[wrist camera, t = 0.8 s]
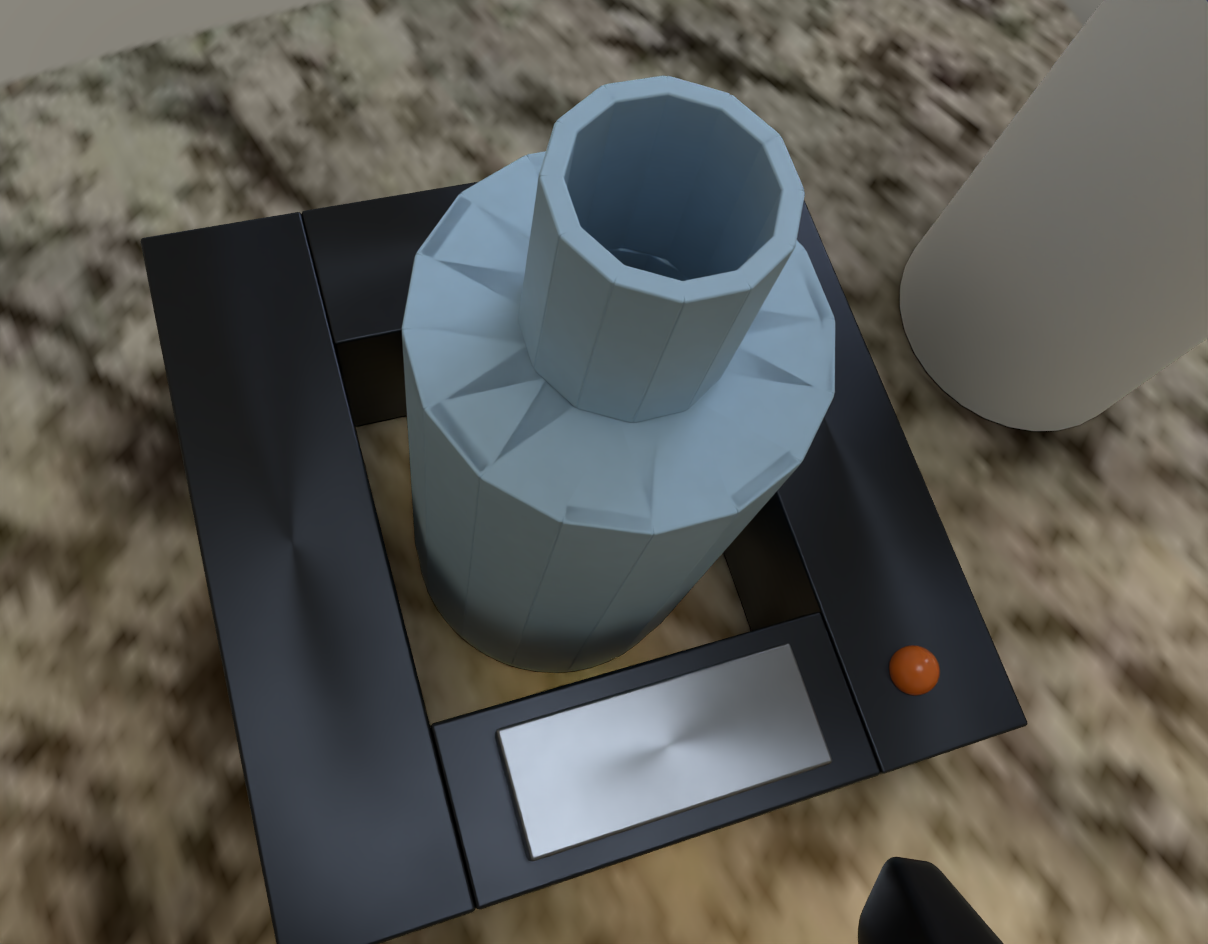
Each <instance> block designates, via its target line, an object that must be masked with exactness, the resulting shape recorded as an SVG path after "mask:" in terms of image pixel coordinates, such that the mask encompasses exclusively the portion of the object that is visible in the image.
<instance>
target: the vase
mask: <svg viewBox="0 0 1208 944" xmlns="http://www.w3.org/2000/svg"><path fill="white" fill-rule="evenodd" d="M804 196H805V193H804V188H803V186H802V183H801V181H800V179H799V176H798V174H797V172H796V169H795V167H794V165H793V162H792V160H791V158H790V155H789V153H788V151H787V148H786V146H785V144H784V141H783V139H782V137H780V135H779V133H777V132H776V131H775V130H774V129H773V128H771V127H770V126H769V125H768V124H767V123H765V122H764V121H763V120H762V119H761V118H759V117H758V116H757V115H756V114H755V113H753V112H752V111H751V110H750V109H749V108H747V107H746V106H745V105H744V104H743V103H741V102H740V101H739V100H738V99H736V98H735V97H734V96H733V95H730V94H729V93H727V92H723V91H720V90H716V89H713V88H709V87H706V86H702V85H699V84H695V83H692V82H688V81H685V80H681V79H678V78H674V77H671V76H667V77H666V76H658V77H651V78H644V79H637V80H631V81H624V82H617V83H611V84H605V85H604V86H600V87H599V88H598V89H597V90H595V91H594V92H593V93H591V94H590V95H589V96H588V97H586V98H585V99H584V100H582V101H581V102H580V103H578V104H577V105H576V106H575V107H573V108H572V109H571V110H569V111H568V112H567V113H566V114H564V115H563V116H562V117H560V118H559V119H558V120H557V122H556V123H555V124H554V127H553V130H552V134H551V137H550V140H549V143H548V147H547V150H546V151H545V152H539V153H533V154H528V155H526V156H523V157H521V158H519V159H518V160H516V161H514V162H513V163H511V164H509V165H507V166H506V167H504V168H502V169H501V170H499V171H497V172H495V173H494V174H492V175H490V176H488V177H487V178H485V179H483V180H482V181H480V182H478V183H476V184H475V185H473V186H471V187H470V188H468V189H466V190H464V191H463V192H461V194H459V195H458V196H457V198H456V199H455V200H454V202H453V203H452V205H451V206H450V207H449V209H448V210H447V211H446V213H445V214H444V216H443V217H442V218H441V220H440V221H439V222H438V224H437V225H436V227H435V228H434V229H433V231H432V232H431V233H430V235H429V236H428V238H427V239H426V240H425V242H424V243H423V244H422V246H421V247H420V248H419V250H418V251H417V253H416V255H415V258H414V263H413V269H412V274H411V280H410V285H409V291H408V296H407V302H406V307H405V313H404V318H403V324H402V342H403V358H404V375H405V391H406V407H407V423H408V439H409V455H410V471H411V487H412V503H413V519H414V536H415V545H416V549H417V553H418V556H419V562H420V567H421V572H422V575H423V578H424V581H425V584H426V587H427V591H428V593H429V595H430V596H431V598H432V600H433V602H434V604H435V606H436V607H437V609H438V610H439V612H440V613H441V615H442V616H443V618H444V619H445V620H446V621H447V623H448V624H449V625H450V626H451V627H452V628H453V629H454V630H455V631H456V633H457V634H459V635H460V636H461V637H462V638H463V639H464V640H466V641H467V642H468V643H469V644H470V645H472V646H473V647H475V648H476V649H478V650H479V651H481V652H482V653H484V654H486V655H487V656H490V657H492V658H494V659H496V660H498V661H500V662H502V663H505V664H508V665H511V666H514V667H517V668H521V669H526V670H532V671H537V672H554V673H558V672H570V671H577V670H582V669H586V668H591V667H594V666H597V665H600V664H602V663H605V662H608V661H610V660H612V659H614V658H616V657H619V656H621V655H623V654H624V653H625V652H626V651H628V650H629V649H631V648H632V647H633V646H635V645H636V644H638V643H639V642H640V641H641V640H642V639H643V638H644V637H645V636H646V635H647V634H648V633H650V632H651V631H652V630H653V629H655V628H656V627H657V626H658V625H659V624H661V623H662V622H663V620H664V619H665V618H666V617H667V616H668V615H669V614H670V612H671V611H672V610H673V609H674V608H675V607H676V606H677V604H678V603H679V602H680V601H681V600H682V599H683V598H684V596H685V595H686V594H687V593H688V592H689V591H690V590H691V588H692V587H693V586H694V585H695V584H696V583H697V582H698V580H699V579H700V578H701V577H702V576H703V575H704V574H705V573H706V571H707V570H708V569H709V568H710V567H711V566H712V565H713V563H714V562H715V561H716V560H717V559H718V558H719V557H720V555H721V554H722V553H723V552H724V551H725V550H726V549H727V547H728V546H729V545H730V544H731V543H732V542H733V541H734V539H735V538H736V537H737V536H738V535H739V534H740V533H741V531H742V530H743V529H744V528H745V527H746V526H747V525H748V523H749V522H750V521H751V520H752V519H753V518H754V517H755V515H756V514H757V513H758V512H759V511H760V510H761V509H762V507H763V506H764V505H765V504H766V503H767V502H768V501H769V499H770V498H771V497H772V496H773V495H774V494H775V493H776V491H777V490H778V489H779V488H780V487H781V486H782V485H783V484H784V482H785V481H786V480H787V479H788V478H789V477H790V476H791V474H792V473H793V472H794V471H795V470H796V469H797V468H798V466H799V465H800V464H801V463H802V462H803V460H804V457H805V455H806V453H807V451H808V449H809V447H810V445H811V443H812V441H813V439H814V437H815V435H816V433H817V431H818V429H819V426H820V424H821V422H822V420H823V418H824V416H825V414H826V412H827V410H828V408H829V406H830V404H831V402H832V400H833V397H834V393H835V320H834V315H833V313H832V311H831V308H830V306H829V303H828V301H827V299H826V296H825V294H824V292H823V289H822V287H821V284H820V282H819V280H818V277H817V275H816V273H815V270H814V268H813V265H812V263H811V261H810V258H809V256H808V254H807V251H806V250H805V248H804V247H803V246H802V245H801V244H800V243H799V242H798V241H797V235H798V230H799V224H800V218H801V213H802V207H803V202H804Z"/></svg>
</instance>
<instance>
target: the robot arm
mask: <svg viewBox="0 0 1208 944" xmlns="http://www.w3.org/2000/svg"><path fill="white" fill-rule="evenodd" d="M858 944H1003V943H1002V941H1001V940H1000V939H999V938H998V937H997V936H996V934H995V933H994V932H993V931H992V930H991V929H990V927H989V926H988V925H987V924H986V923H985V922H984V921H983V919H982V918H981V917H980V916H979V915H978V914H977V912H976V911H975V910H974V909H973V908H972V907H971V905H970V904H969V903H968V902H967V901H966V900H965V898H964V897H963V896H962V895H961V894H960V893H959V891H958V890H957V889H956V888H955V887H954V886H953V885H952V883H951V882H950V881H949V880H948V879H947V878H946V876H945V875H944V874H943V873H942V872H941V871H940V870H939V869H938V868H937V867H936V866H935V865H933V864H932V863H930V862H927V861H921V860H914V859H908V858H901V857H892V858H890V859H889V860H887V861H886V862H885V864H884V866H883V867H882V869H881V871H880V873H879V876H878V878H877V880H876V882H875V884H874V886H873V888H872V891H871V893H870V895H869V897H868V899H867V901H866V904H865V906H864V908H863V910H862V913H861V915H860V919H859V925H858Z"/></svg>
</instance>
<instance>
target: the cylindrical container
mask: <svg viewBox="0 0 1208 944" xmlns="http://www.w3.org/2000/svg"><path fill="white" fill-rule="evenodd" d="M900 311H901V316H902V321H903V325H904V330H905V333H906V335H907V337H908V340H909V342H910V344H911V347H912V349H913V351H914V353H915V355H916V356H917V358H918V359H919V361H920V362H921V364H922V365H923V367H924V368H925V370H926V371H927V373H928V374H929V375H930V376H931V377H932V378H933V380H934V381H935V382H936V383H937V384H938V385H939V386H940V387H941V388H942V389H943V390H944V391H945V392H946V393H947V394H949V395H950V396H951V397H952V398H954V399H955V400H956V401H957V402H959V403H960V404H961V405H962V406H964V407H966V408H968V409H969V410H971V411H973V412H975V413H976V414H978V415H980V416H982V417H983V418H986V419H988V420H991V421H994V422H996V423H999V424H1002V425H1005V426H1007V427H1012V428H1018V429H1023V430H1029V431H1058V430H1062V429H1066V428H1070V427H1074V426H1078V425H1080V424H1082V423H1084V422H1086V421H1088V420H1090V419H1092V418H1094V417H1096V416H1098V415H1099V414H1101V413H1102V412H1103V411H1105V410H1106V409H1108V408H1109V407H1111V406H1112V405H1113V404H1115V403H1116V402H1118V401H1119V400H1121V399H1122V398H1123V397H1125V396H1126V395H1128V394H1129V393H1131V392H1132V391H1133V390H1135V389H1136V388H1138V387H1139V386H1141V385H1142V384H1143V383H1145V382H1146V381H1148V380H1149V379H1150V378H1152V377H1153V376H1155V375H1156V374H1158V373H1159V372H1160V371H1162V370H1163V369H1165V368H1166V367H1168V366H1169V365H1170V364H1172V363H1173V362H1175V361H1176V360H1178V359H1179V358H1180V357H1182V356H1183V355H1185V354H1186V353H1188V352H1189V351H1190V350H1192V349H1193V348H1195V347H1196V346H1197V345H1199V344H1200V343H1202V342H1203V341H1205V340H1206V339H1207V338H1208V0H1103V1H1102V2H1101V3H1100V5H1099V6H1098V7H1097V9H1096V10H1095V11H1094V13H1093V14H1092V15H1091V17H1090V18H1089V19H1088V21H1087V22H1086V23H1085V25H1084V26H1083V27H1082V29H1081V30H1080V31H1079V32H1078V34H1077V35H1076V36H1075V38H1074V39H1073V40H1072V42H1071V43H1070V44H1069V46H1068V47H1067V48H1066V50H1065V51H1064V52H1063V54H1062V55H1061V56H1060V58H1059V59H1058V60H1057V61H1056V63H1055V64H1054V65H1053V67H1052V68H1051V69H1050V71H1049V72H1048V73H1047V75H1046V76H1045V77H1044V79H1043V80H1042V81H1041V83H1040V84H1039V85H1038V87H1037V88H1036V89H1035V90H1034V92H1033V93H1032V94H1031V96H1030V97H1029V98H1028V100H1027V101H1026V102H1025V104H1024V105H1023V106H1022V108H1021V109H1020V110H1019V112H1018V113H1017V114H1016V116H1015V117H1014V118H1013V120H1012V121H1011V122H1010V123H1009V125H1008V126H1007V127H1006V129H1005V130H1004V131H1003V133H1002V134H1001V135H1000V137H999V138H998V139H997V141H996V142H995V143H994V145H993V146H992V147H991V149H990V150H989V151H988V153H987V154H986V155H985V156H984V158H983V159H982V160H981V162H980V163H979V164H978V166H977V167H976V168H975V170H974V171H973V172H972V174H971V175H970V176H969V178H968V179H967V180H966V182H965V183H964V184H963V186H962V187H961V188H960V189H959V191H958V192H957V193H956V195H955V196H954V197H953V199H952V200H951V201H950V203H949V204H948V205H947V207H946V208H945V209H944V211H943V212H942V213H941V215H940V216H939V217H938V219H937V220H936V221H935V222H934V224H933V225H932V226H931V228H930V229H929V230H928V232H927V233H926V234H925V236H924V237H923V238H922V240H921V241H920V242H919V244H918V245H917V246H916V248H915V249H914V250H913V252H912V254H911V256H910V258H909V260H908V262H907V264H906V265H905V268H904V272H903V276H902V280H901V284H900Z"/></svg>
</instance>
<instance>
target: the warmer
mask: <svg viewBox="0 0 1208 944" xmlns="http://www.w3.org/2000/svg"><path fill="white" fill-rule="evenodd" d="M476 183H478V182H474V183H468V184H462V185H456V186H450V187H444V188H438V189H432V190H426V191H420V192H415V193H409V194H403V195H397V196H391V197H385V198H379V199H373V200H367V201H361V202H355V203H349V204H343V205H337V206H331V207H325V208H319V209H313V210H307V211H303V212H302V214H301V213H300V212H296V213H290V214H284V215H278V216H272V217H266V218H260V219H254V220H248V221H242V222H236V223H230V224H224V225H218V226H212V227H206V228H200V229H194V230H188V231H182V232H176V233H170V234H164V235H158V236H152V237H146V238H142V239H141V246H142V251H143V256H144V261H145V267H146V272H147V277H148V282H149V287H150V292H151V298H152V303H153V308H154V313H155V318H156V323H157V329H158V334H159V339H160V344H161V349H162V354H163V360H164V365H165V370H166V375H167V380H168V385H169V391H170V396H171V401H172V406H173V411H174V417H175V422H176V427H177V432H178V437H179V442H180V448H181V453H182V458H183V463H184V468H185V473H186V479H187V484H188V489H189V494H190V499H191V504H192V510H193V515H194V520H195V525H196V530H197V535H198V541H199V546H200V551H201V556H202V561H203V566H204V572H205V577H206V582H207V587H208V592H209V597H210V603H211V608H212V613H213V618H214V623H215V628H216V634H217V639H218V644H219V649H220V654H221V659H222V665H223V670H224V675H225V680H226V685H227V690H228V696H229V701H230V706H231V711H232V716H233V721H234V727H235V732H236V737H237V742H238V747H239V752H240V758H241V763H242V768H243V773H244V778H245V783H246V789H247V794H248V799H249V804H250V809H251V814H252V820H253V825H254V830H255V835H256V840H257V845H258V851H259V856H260V861H261V866H262V871H263V876H264V882H265V887H266V892H267V897H268V902H269V907H270V913H271V918H272V923H273V928H274V933H275V939H276V944H380V943H383V942H386V941H389V940H392V939H395V938H398V937H401V936H404V935H406V934H409V933H412V932H415V931H418V930H421V929H424V928H427V927H430V926H433V925H436V924H439V923H442V922H445V921H448V920H451V919H454V918H457V917H460V916H463V915H466V914H469V913H472V912H474V911H475V908H477V909H484V908H487V907H490V906H492V905H495V904H498V903H501V902H504V901H507V900H510V899H513V898H516V897H519V896H522V895H525V894H528V893H531V892H534V891H537V890H540V889H543V888H546V887H549V886H552V885H555V884H558V883H561V882H564V881H567V880H570V879H573V878H576V877H579V876H582V875H584V874H587V873H590V872H593V871H596V870H599V869H602V868H605V867H608V866H611V865H614V864H617V863H620V862H623V861H626V860H629V859H632V858H635V857H638V856H641V855H644V854H647V853H650V852H653V851H656V850H659V849H662V848H665V847H668V846H671V845H673V844H676V843H679V842H682V841H685V840H688V839H691V838H694V837H697V836H700V835H703V834H706V833H709V832H712V831H715V830H718V829H721V828H724V827H727V826H730V825H733V824H736V823H739V822H742V821H745V820H748V819H751V818H754V817H757V816H760V815H763V814H765V813H768V812H771V811H774V810H777V809H780V808H783V807H786V806H789V805H792V804H795V803H798V802H801V801H804V800H807V799H810V798H813V797H816V796H819V795H822V794H825V793H828V792H831V791H834V790H837V789H840V788H843V787H846V786H849V785H852V784H855V783H857V782H860V781H863V780H866V779H869V778H872V777H875V776H878V775H880V774H884V773H887V772H890V771H893V770H896V769H899V768H902V767H905V766H908V765H911V764H914V763H917V762H920V761H923V760H926V759H929V758H932V757H935V756H938V755H941V754H944V753H947V752H950V751H953V750H955V749H958V748H961V747H964V746H967V745H970V744H973V743H976V742H979V741H982V740H985V739H988V738H991V737H994V736H997V735H1000V734H1003V733H1006V732H1009V731H1012V730H1015V729H1018V728H1021V727H1024V726H1026V725H1027V720H1026V718H1025V716H1024V713H1023V711H1022V709H1021V706H1020V704H1019V702H1018V699H1017V697H1016V695H1015V692H1014V690H1013V688H1012V685H1011V683H1010V681H1009V678H1008V676H1007V674H1006V671H1005V669H1004V667H1003V664H1002V662H1001V660H1000V657H999V655H998V652H997V650H996V648H995V645H994V643H993V641H992V638H991V636H990V634H989V631H988V629H987V627H986V624H985V622H984V620H983V617H982V615H981V613H980V610H979V608H978V606H977V603H976V601H975V599H974V596H973V594H972V592H971V589H970V587H969V585H968V582H967V580H966V578H965V575H964V573H963V571H962V568H961V566H960V564H959V561H958V559H957V557H956V554H955V552H954V550H953V547H952V545H951V543H950V540H949V538H948V536H947V533H946V531H945V528H944V526H943V524H942V521H941V519H940V517H939V514H938V512H937V510H936V507H935V505H934V503H933V500H932V498H931V496H930V493H929V491H928V489H927V486H926V484H925V482H924V479H923V477H922V475H921V472H920V470H919V468H918V465H917V463H916V461H915V458H914V456H913V454H912V451H911V449H910V447H909V444H908V442H907V440H906V437H905V435H904V433H903V430H902V428H901V426H900V423H899V421H898V419H897V416H896V414H895V412H894V409H893V407H892V404H891V402H890V400H889V397H888V395H887V393H886V390H885V388H884V386H883V383H882V381H881V379H880V376H879V374H878V372H877V369H876V367H875V365H874V362H873V360H872V358H871V355H870V353H869V351H868V348H867V346H866V344H865V341H864V339H863V337H862V334H861V332H860V330H859V327H858V325H857V323H856V320H855V318H854V316H853V313H852V311H851V309H850V306H849V304H848V302H847V299H846V297H845V295H844V292H843V290H842V287H841V285H840V283H839V280H838V278H837V276H836V273H835V271H834V269H833V266H832V264H831V262H830V259H829V257H828V255H827V252H826V250H825V248H824V245H823V243H822V241H821V238H820V236H819V234H818V231H817V229H816V227H815V224H814V222H813V220H812V217H811V215H810V213H809V210H808V208H807V206H806V203H805V201H804V202H803V207H802V213H801V218H800V224H799V230H798V235H797V241H798V242H799V243H800V244H801V245H802V246H803V247H804V248H805V250H806V251H807V254H808V256H809V258H810V261H811V263H812V265H813V268H814V270H815V273H816V275H817V277H818V280H819V282H820V284H821V287H822V289H823V292H824V294H825V296H826V299H827V301H828V303H829V306H830V308H831V311H832V313H833V315H834V320H835V393H834V397H833V400H832V402H831V404H830V406H829V408H828V410H827V412H826V414H825V416H824V418H823V420H822V422H821V424H820V426H819V429H818V431H817V433H816V435H815V437H814V439H813V441H812V443H811V445H810V447H809V449H808V451H807V453H806V455H805V457H804V460H803V462H802V463H801V464H800V465H799V466H798V468H797V469H796V470H795V471H794V472H793V473H792V474H791V476H790V477H789V478H788V479H787V480H786V481H785V482H784V484H783V485H782V486H781V487H780V488H779V489H778V490H777V491H776V493H775V494H774V495H773V496H772V497H771V498H770V499H769V501H768V502H767V503H766V504H765V505H764V506H763V507H762V509H761V510H760V511H759V512H758V513H757V514H756V515H755V517H754V518H753V519H752V520H751V521H750V522H749V523H748V525H747V526H746V527H745V528H744V529H743V530H742V531H741V533H740V534H739V535H738V536H737V537H736V538H735V539H734V541H733V542H732V543H731V544H730V545H729V546H728V547H727V549H726V550H725V551H724V554H725V557H726V560H727V562H728V565H729V568H730V571H731V574H732V576H733V579H734V582H735V585H736V588H737V590H738V593H739V596H740V599H741V602H742V604H743V607H744V610H745V613H746V616H747V619H748V621H749V624H750V627H751V630H752V631H750V632H746V633H743V634H739V635H736V636H733V637H729V638H726V639H722V640H719V641H715V642H712V643H708V644H705V645H702V646H698V647H695V648H691V649H688V650H684V651H681V652H677V653H674V654H671V655H667V656H664V657H660V658H657V659H653V660H650V661H646V662H643V663H640V664H636V665H633V666H629V667H626V668H622V669H619V670H615V671H612V672H609V673H605V674H602V675H598V676H595V677H591V678H588V679H584V680H581V681H578V682H574V683H571V684H567V685H564V686H560V687H557V688H553V689H550V690H547V691H543V692H540V693H536V694H533V695H529V696H526V697H522V698H519V699H516V700H512V701H509V702H505V703H502V704H498V705H495V706H491V707H488V708H485V709H481V710H478V711H474V712H471V713H467V714H464V715H460V716H457V717H454V718H450V719H447V720H443V721H440V722H436V723H433V724H432V725H431V727H430V723H429V719H428V715H427V711H426V707H425V703H424V699H423V695H422V691H421V688H420V684H419V680H418V676H417V672H416V668H415V664H414V660H413V656H412V652H411V648H410V644H409V640H408V636H407V632H406V628H405V624H404V620H403V616H402V612H401V608H400V604H399V600H398V596H397V592H396V588H395V584H394V580H393V576H392V572H391V568H390V564H389V560H388V556H387V552H386V548H385V544H384V540H383V536H382V532H381V528H380V524H379V520H378V516H377V512H376V508H375V504H374V500H373V496H372V492H371V488H370V484H369V480H368V476H367V472H366V468H365V465H364V461H363V457H362V453H361V449H360V445H359V441H358V437H357V433H356V429H355V426H359V425H363V424H368V423H372V422H377V421H382V420H386V419H391V418H395V417H400V416H405V415H407V407H406V391H405V375H404V358H403V342H402V324H403V318H404V313H405V307H406V302H407V296H408V291H409V285H410V280H411V274H412V269H413V263H414V258H415V255H416V253H417V251H418V250H419V248H420V247H421V246H422V244H423V243H424V242H425V240H426V239H427V238H428V236H429V235H430V233H431V232H432V231H433V229H434V228H435V227H436V225H437V224H438V222H439V221H440V220H441V218H442V217H443V216H444V214H445V213H446V211H447V210H448V209H449V207H450V206H451V205H452V203H453V202H454V200H455V199H456V198H457V196H458V195H459V194H461V192H463V191H464V190H466V189H468V188H470V187H471V186H473V185H475V184H476Z"/></svg>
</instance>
